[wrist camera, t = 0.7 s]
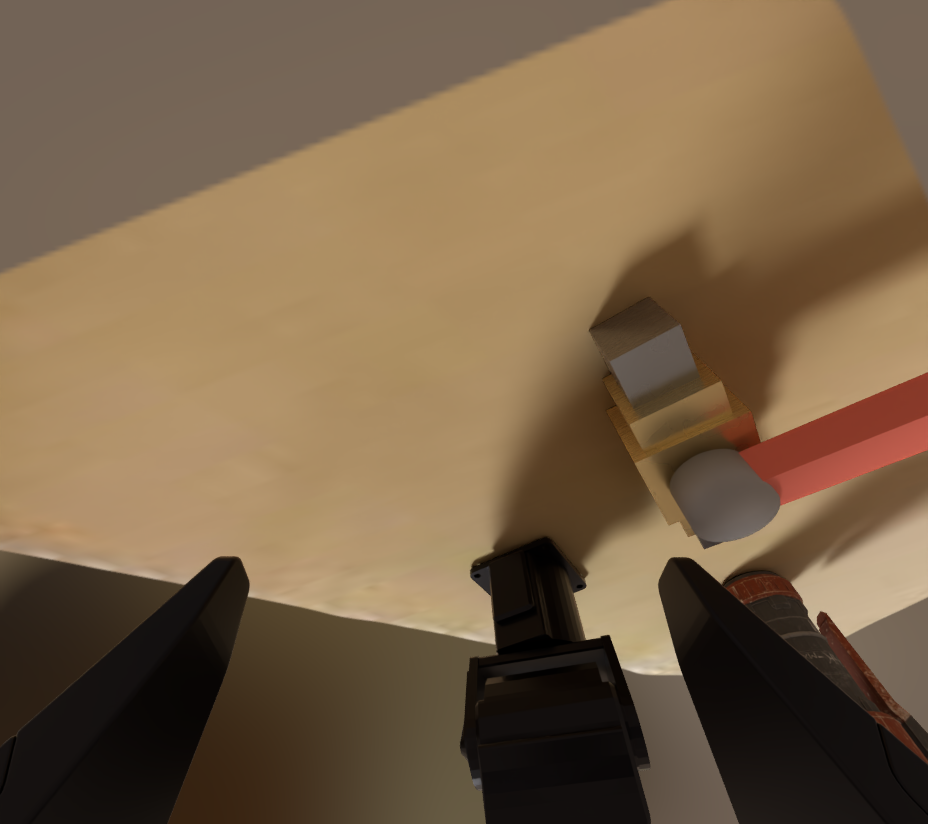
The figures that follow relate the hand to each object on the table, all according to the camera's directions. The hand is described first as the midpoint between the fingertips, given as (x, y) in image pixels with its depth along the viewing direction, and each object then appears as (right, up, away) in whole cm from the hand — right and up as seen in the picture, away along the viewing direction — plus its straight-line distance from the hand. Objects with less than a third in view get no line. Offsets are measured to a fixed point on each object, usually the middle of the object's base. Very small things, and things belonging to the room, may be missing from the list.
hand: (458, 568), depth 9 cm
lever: (+15, +2, +10) cm, 18 cm away
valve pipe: (+11, +3, +15) cm, 19 cm away
